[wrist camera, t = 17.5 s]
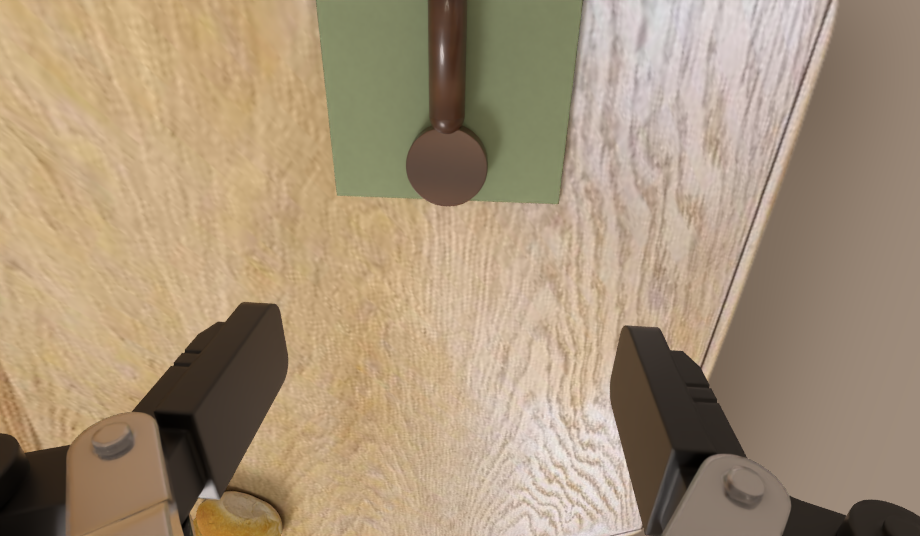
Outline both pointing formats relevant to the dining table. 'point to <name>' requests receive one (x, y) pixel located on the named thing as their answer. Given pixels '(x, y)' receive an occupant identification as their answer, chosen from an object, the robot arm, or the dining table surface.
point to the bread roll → (237, 517)
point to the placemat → (486, 92)
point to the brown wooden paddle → (447, 116)
